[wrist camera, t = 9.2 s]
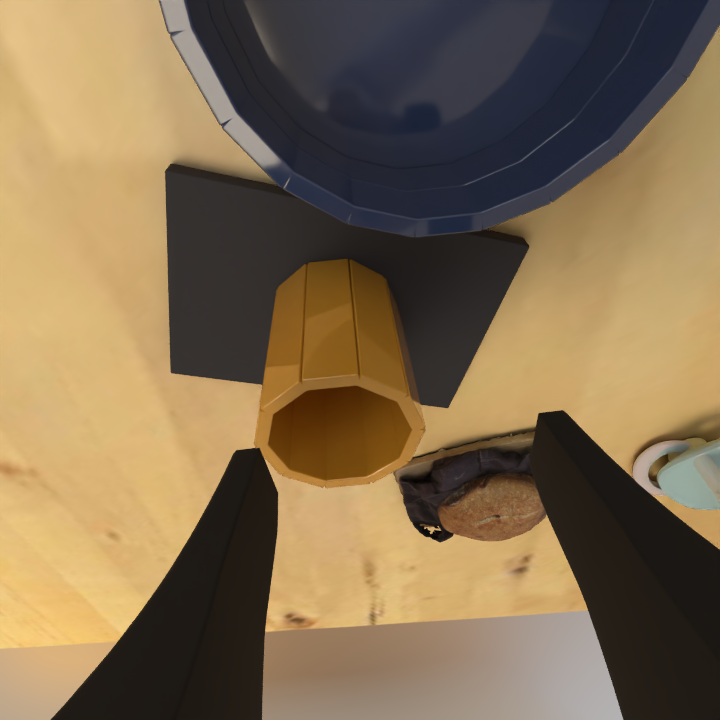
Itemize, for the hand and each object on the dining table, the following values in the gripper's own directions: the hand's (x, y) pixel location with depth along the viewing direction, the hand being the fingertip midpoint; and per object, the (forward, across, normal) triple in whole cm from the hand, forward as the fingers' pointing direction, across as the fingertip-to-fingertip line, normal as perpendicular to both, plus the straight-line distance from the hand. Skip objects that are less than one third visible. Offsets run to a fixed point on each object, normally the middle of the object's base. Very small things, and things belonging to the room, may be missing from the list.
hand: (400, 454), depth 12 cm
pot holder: (+10, +2, +2) cm, 10 cm away
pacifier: (+10, -18, +17) cm, 27 cm away
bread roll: (+10, -6, +16) cm, 20 cm away
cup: (+9, +2, +2) cm, 9 cm away
